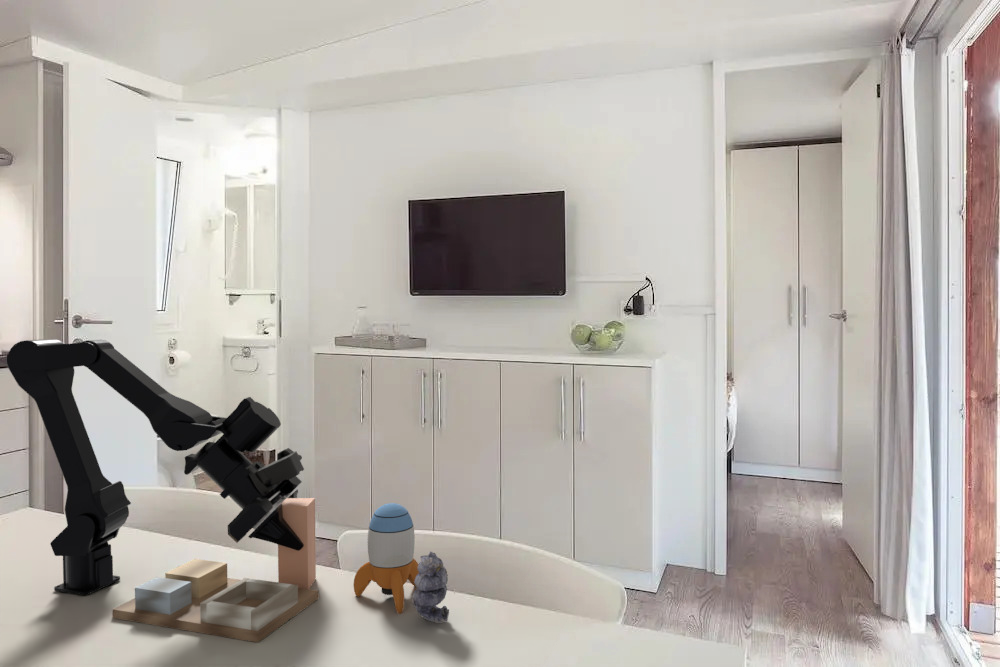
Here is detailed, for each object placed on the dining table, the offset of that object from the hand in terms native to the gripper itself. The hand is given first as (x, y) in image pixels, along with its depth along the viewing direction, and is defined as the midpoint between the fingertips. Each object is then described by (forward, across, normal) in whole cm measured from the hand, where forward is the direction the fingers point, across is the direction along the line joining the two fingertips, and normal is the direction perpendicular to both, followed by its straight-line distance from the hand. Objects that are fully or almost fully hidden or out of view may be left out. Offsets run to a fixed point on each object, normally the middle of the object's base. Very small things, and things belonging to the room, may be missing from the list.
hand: (306, 542), depth 105 cm
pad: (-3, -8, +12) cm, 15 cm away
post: (+4, 0, +6) cm, 7 cm away
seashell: (+19, -13, -10) cm, 25 cm away
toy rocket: (+14, -5, -4) cm, 15 cm away
